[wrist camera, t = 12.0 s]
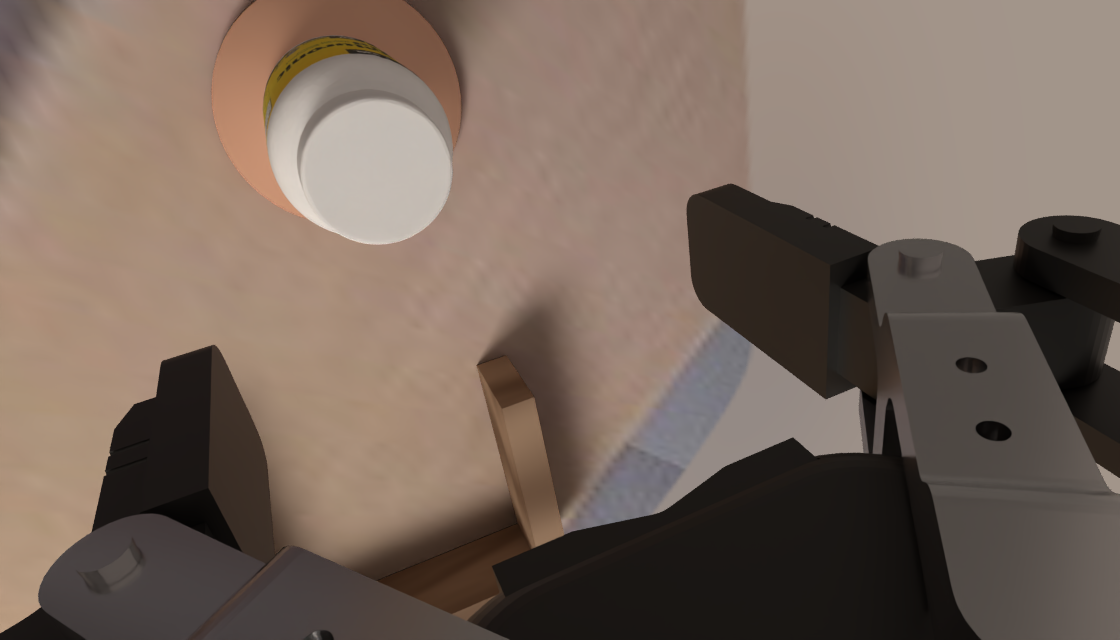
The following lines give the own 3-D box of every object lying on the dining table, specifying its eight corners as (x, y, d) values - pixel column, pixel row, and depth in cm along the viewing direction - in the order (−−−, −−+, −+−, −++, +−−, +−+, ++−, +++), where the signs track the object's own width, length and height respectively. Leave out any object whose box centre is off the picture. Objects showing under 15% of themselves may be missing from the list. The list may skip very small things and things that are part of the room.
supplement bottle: (406, 30, 28) (478, 66, 19) (415, 174, 30) (483, 260, 22) (249, 32, 26) (255, 73, 18) (272, 185, 28) (287, 284, 20)
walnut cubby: (156, 476, 32) (147, 538, 29) (506, 355, 36) (534, 397, 32) (257, 652, 38) (259, 720, 35) (547, 532, 42) (574, 583, 38)
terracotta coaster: (168, 5, 25) (167, 6, 24) (426, -46, 27) (429, -46, 27) (264, 246, 29) (264, 252, 29) (478, 185, 32) (482, 189, 31)
